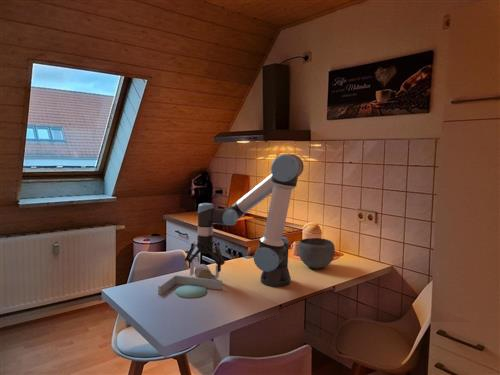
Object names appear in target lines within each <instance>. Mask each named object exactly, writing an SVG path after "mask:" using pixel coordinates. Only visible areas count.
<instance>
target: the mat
mask: <svg viewBox="0 0 500 375" xmlns="http://www.w3.org/2000/svg"><path fill="white" fill-rule="evenodd" d="M206 294H207V288H205V287H203V286H199V285H182V286H179V287H178V288H176V289H175V295H176V296H178V297H180V298H185V299H196V298H200V297H203V296H204V295H206Z"/></svg>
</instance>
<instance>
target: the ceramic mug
mask: <svg viewBox="0 0 500 375" xmlns="http://www.w3.org/2000/svg"><path fill="white" fill-rule="evenodd" d="M194 276H195V277H197V278H205V279H213V280H217V279H216V274H215V275H214V274H213V273H212V271H211V270H210V268H209V266H208V265H207V264H205V263H201V264H198V265H196V267H195V268H194Z"/></svg>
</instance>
